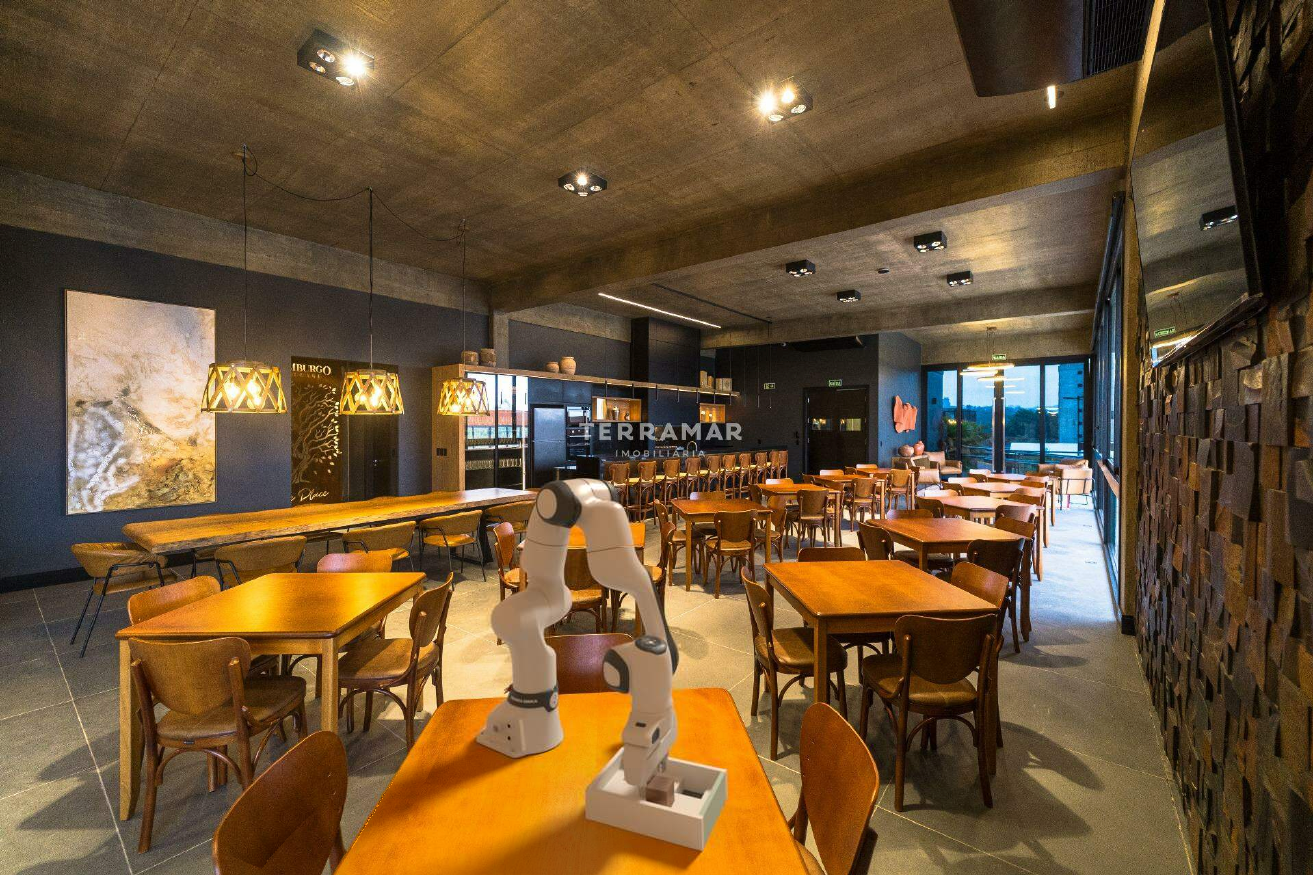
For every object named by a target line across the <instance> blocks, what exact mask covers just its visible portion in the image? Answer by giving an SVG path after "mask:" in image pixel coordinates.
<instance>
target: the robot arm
mask: <svg viewBox="0 0 1313 875" xmlns="http://www.w3.org/2000/svg"><path fill="white" fill-rule="evenodd" d="M574 526H576V527H578V528H580V530H581V531H582V533H583V535H584V540H585V549H586V550H585V551H586V558H587V564H588V565H587V566H588V568H589V572H590V575H591V576H592V579H594V580H595V581H596V582H597V583H598V584H600V585H602V586H603V587H606V588H608V589H612V590H615V591H619V592H623V593H626V594H628V595H630V596H631V597H632V598H633V599H634V601H635V603H636V604H637V607H638V610H639V614H640V617H641V621H642V625H643V627H644V632H645V635H642V636H639V637H636V639H635V640H633V641H628V642H625V643H622V644H618V645H615V646H612V647H610V648H609V649H607V650H606V651H605V653H604V655H603V659H602V663H601V673H602V678H603V681H604V683H605V684H606V685H607V686H608V687H609V688H610V689H612V690H614V691H615V692H617V693H620V694H622V695H629V696H630V697H631V703H630V706H631V710H630V713H629V716H628V719H627V721H626V723H625V725H624V727H623V730H622V731H621V742H623V743H624V746H623V747H624V752H623V762H624V777H625V781H626V782H627V784H629V785H633V786H637V787H638V788H639V796H640V797H641V798H646V787H647V782H648V778H649V777H650V775H651V774H652V773H653V771H654V770H655V769H656V767H657V770H658V771H659V772H662V773H664V772H665V771H666V769H667V761H668V757H670V749H671V748H672V746H673V745H674V744H675V743H676V741H677V739H678V720H677V713H676V711H675V710H674V699H673V697H672V687H673V676H674V675H675V673H676V671H677V669H678V666H679V662H680V652H679V649H678V647H677V644H676V641H675V639H674V638H673V636H672V634H671V631H670V628H669V626H668V625H669V624H668V622H667V618H666V615H665V612H664V609H663V608H664V607H663V606H662V602H661V599H660V596H659V593H658V589H657V586H656V583H655V581H654V577H653V576H652V574H651V572H650V570H649V569H648V568H647V567H645V566H644V565H642V563H641V561H640V560H639V557H638V556H637V553H636V548H635V543H634V538H633V534H632V529H631V525H630V521H629V519H628V515H627V512H626V509H625V508H624V507H623V505H621V504H620V503H619V494H618V490H617V488H616V486H614V485H613V483H611V482H610V481H608V480H605V479H600V478H594V479H593V478H582V477H581V478H578V477H577V478H575V479H574V478H573V479H565V480H554V481H550V482H547V483H545V484H544V485H542V486H541V487H540V488H539V490H538V491H537V494H536V498H535V505H534V506H533V509H532V511H531V514H530V517H529V521H528V524H527V528H526V531H525V536H524V537H525V538H524V543H523V548H522V552H521V558H520V567H521V568H522V570H523V571H524V572H525V573H526V574H527V578H528V583H527V586H526V588H525V589H524V590H521V591H518V592H517V593H514V594H511V595H508V596H507V597H506V598H504V599H502V600H501V601H500V602H499V603H498V604H497V605H495V606H494V608H493V609H492V611H491V614H490V625H491V629H492V631H493V633H494V634H495V636H496V637H498V639H500V640H501V641H503V642H505V644H506V645H507V647H508V650H509V653H510V654H509V655H510V657H511V670H512V671H511V672H512V683H510V684H509V685H508V686H507V687H506V688H505V689H503V691H504V692H503V695H506V694H507V693H508V695H507V697H506V698H505V699H504V700H502V701H501V702H500V703H499V704H498V705H496V706H495V707H494V708H493V709H492V710H490V712H489V713H488V715H487V717H486V718H487V719H486V723H485V726H484V727H483V728H482V729H480V731H479V732H478V733H477V735H476V738H475V741H476V743H478V744H480V745H483V746H485V747H486V748H487V747H488V748H490V749H492V750H494V751H496V752H499V753H501V754H503V755H505V756H508V757H511V758H512V759H517V758H521V757H524V756H526V755H534V754H538V753H543V752H546V751H549V750H551V749H553V748H555V747H557V746H558V745H559V744H561V742H563V739H564V735H565V734H564V731H563V728H562V723H561V720H560V715H559V714H560V713H559V682H558V680H557V654H556V651H555V649H554V648H552V647H551V646H550V645H548V644H547V642H546V641H545V635H544V634H545V633H544V631H545V628H548V627H550V626H551V625H552V626H553V625H554V624H555V623H558V622H559V621H560V620H562V619H563V618H564V617H565V616H566V615H567V614H568V613H569V612H570V610H571V608H572V605H573V597H572V593H571V591H570V589H569V587H568V586H567V585H566V583H565V582H566V581H565V564H566V559H567V553H568V550H569V549H568V547H569V543H570V537H571V532H572V529H573V527H574Z"/></svg>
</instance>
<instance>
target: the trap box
mask: <svg viewBox="0 0 1313 875" xmlns="http://www.w3.org/2000/svg"><path fill="white" fill-rule="evenodd" d="M623 752H624V746H622V747H621V748H620V749H618V751H617V752H616V753H615V754H614V756H612V758H611V759H610V760H609V761H608V762H607V764H606V765H605V766H604V767H603V768H602V769H601V770H600V771H599V772H598V774H597V775H596V776H595V777H594V778H593V779H592V781H590V782H589V784H588V785H587V786H586V788H584V795H585V796H584V797H585V798H584V802H585V806H584V807H585V819H586V820H589V821H594V822H596V823H600V824H604V825H607V826H611V827H614V828H615V827H616V828H618V829H622V830H624V831H629V832H632V833H636V834H640V835H643V836H645V837H646V836H647V837H650V838H653V839H658V840H661V841H664V842H668V843H672V844H675V845H678V846H682V847H686V848H689V849H692V850H696V851H700V852H703V851H704V849H705V847H706V844H707V842H708V840H709V838H710V835H711V833H712V831H713V829H714V827H715V825H716V823H717V820H718V818H719V816H720V815H721V812H722V811H723V807H724V806H725V803H726V802H727V799H728V770H727V769H726V768H720V767H716V766H710V765H708V764H707V765H705V764H702V763H698V762H693V761H688V760H684V759H679V758H674V757H670V756H668V761H667V769H666V771H665V772H664V773H662V772H659V771H658V770H657V767H656V769H655V770H654V771H653V773H652V774H651V775H650V777H649V778H648V782H647V785H648V783H649V781H650V780H651V778H652V777H653V775H657V776H662V777H667V778H672V779H674V797H675V801H674V803H673V805H672V807H671V808H670V807H667V806H663V805H659V804H655V803H651V802H647V801H646V798H641V797H640V796H639V788H638V787H637V786H633V785H629V784H627V782H626V781H625V777H624V762H623Z"/></svg>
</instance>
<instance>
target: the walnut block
mask: <svg viewBox="0 0 1313 875" xmlns="http://www.w3.org/2000/svg"><path fill="white" fill-rule="evenodd" d="M646 801H647V802H651V803H655V804H659V805H663V806H667V807H670V808H671V807H672V805H673V803H674V801H675V797H674V779H672V778H667V777H662V776H657V775H653V777H652V778H651V780H650V781H649V783H648V785H647V787H646Z"/></svg>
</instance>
